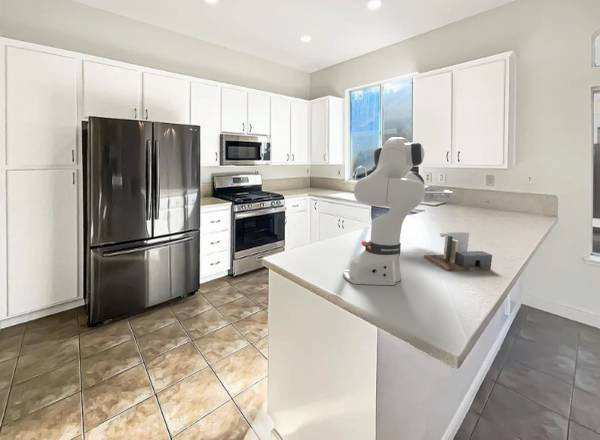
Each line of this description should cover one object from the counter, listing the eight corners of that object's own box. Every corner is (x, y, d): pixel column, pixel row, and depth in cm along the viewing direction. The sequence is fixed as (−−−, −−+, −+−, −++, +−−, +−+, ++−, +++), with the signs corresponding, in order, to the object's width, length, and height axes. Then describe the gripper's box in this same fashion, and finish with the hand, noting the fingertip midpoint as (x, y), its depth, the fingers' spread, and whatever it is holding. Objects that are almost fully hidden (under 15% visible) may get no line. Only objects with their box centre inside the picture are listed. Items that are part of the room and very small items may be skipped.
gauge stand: (447, 271, 133) (450, 245, 131) (423, 257, 152) (425, 234, 150) (490, 269, 136) (493, 244, 134) (462, 256, 155) (464, 234, 153)
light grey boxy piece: (451, 263, 138) (453, 238, 136) (436, 255, 149) (438, 232, 147) (481, 262, 140) (484, 238, 138) (464, 254, 151) (466, 232, 149)
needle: (447, 261, 141) (449, 236, 139) (445, 260, 142) (448, 235, 140) (449, 261, 141) (452, 236, 139) (448, 260, 143) (450, 235, 141)
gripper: (410, 188, 171) (423, 190, 158) (445, 188, 174) (461, 190, 161) (409, 199, 172) (422, 203, 159) (443, 199, 175) (459, 203, 162)
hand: (442, 196), depth 160 cm, fingers closed
